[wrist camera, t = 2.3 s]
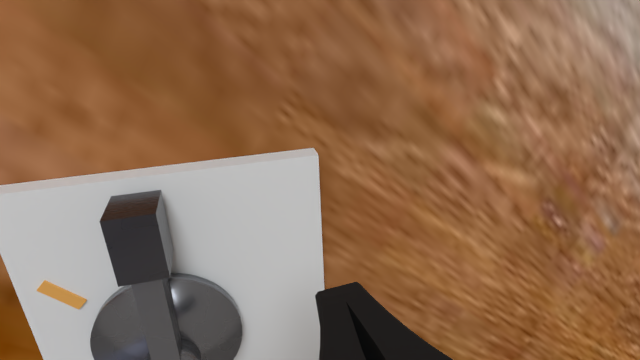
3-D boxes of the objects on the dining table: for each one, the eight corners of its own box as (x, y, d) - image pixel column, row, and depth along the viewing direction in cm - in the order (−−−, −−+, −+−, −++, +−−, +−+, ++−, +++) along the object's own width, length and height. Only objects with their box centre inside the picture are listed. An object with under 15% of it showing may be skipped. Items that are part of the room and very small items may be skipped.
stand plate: (324, 362, 27) (328, 376, 26) (78, 415, 24) (72, 434, 23) (313, 147, 21) (318, 155, 20) (-12, 186, 18) (-24, 198, 17)
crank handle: (248, 367, 24) (252, 405, 22) (112, 397, 23) (102, 440, 20) (220, 180, 19) (222, 204, 17) (47, 202, 18) (25, 231, 16)
